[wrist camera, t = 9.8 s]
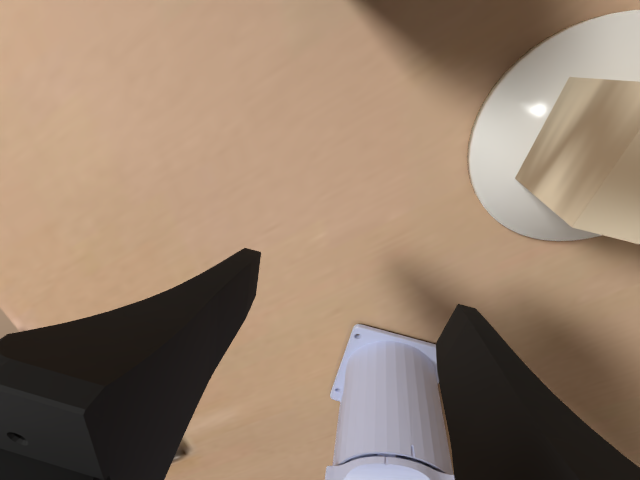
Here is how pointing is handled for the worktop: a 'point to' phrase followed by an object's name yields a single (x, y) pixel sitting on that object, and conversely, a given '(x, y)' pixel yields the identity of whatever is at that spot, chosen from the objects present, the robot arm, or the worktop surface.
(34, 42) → the worktop surface
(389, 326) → the worktop surface
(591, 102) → the beech block
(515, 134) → the coaster
